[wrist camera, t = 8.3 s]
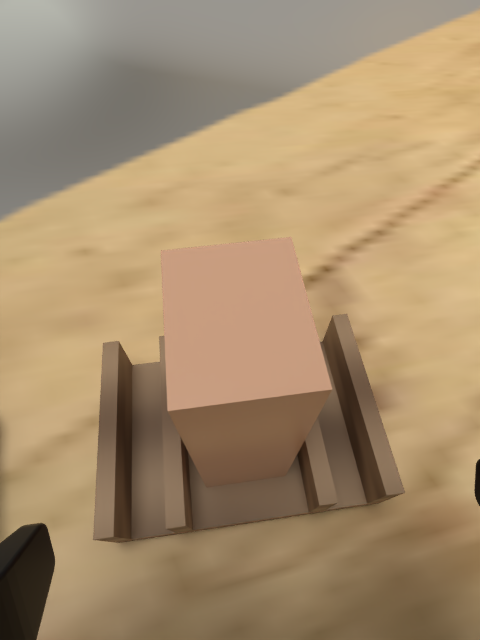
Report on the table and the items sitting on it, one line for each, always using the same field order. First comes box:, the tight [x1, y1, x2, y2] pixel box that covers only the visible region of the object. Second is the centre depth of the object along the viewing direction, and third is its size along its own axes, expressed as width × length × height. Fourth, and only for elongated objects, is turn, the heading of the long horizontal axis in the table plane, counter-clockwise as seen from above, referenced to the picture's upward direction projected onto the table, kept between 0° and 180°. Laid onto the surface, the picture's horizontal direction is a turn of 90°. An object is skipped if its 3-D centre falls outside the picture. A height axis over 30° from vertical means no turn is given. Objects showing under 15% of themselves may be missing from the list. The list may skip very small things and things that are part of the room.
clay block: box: [161, 237, 332, 487], centre depth 16 cm, size 5×4×12 cm
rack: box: [93, 314, 405, 543], centre depth 20 cm, size 9×13×4 cm
